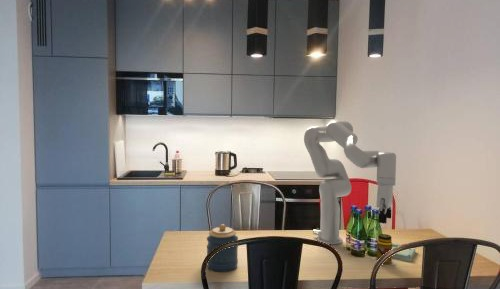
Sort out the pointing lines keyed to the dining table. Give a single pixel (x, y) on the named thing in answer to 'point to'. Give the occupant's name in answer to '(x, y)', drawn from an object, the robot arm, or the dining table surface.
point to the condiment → (384, 248)
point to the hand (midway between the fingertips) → (384, 220)
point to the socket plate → (403, 253)
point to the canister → (225, 257)
